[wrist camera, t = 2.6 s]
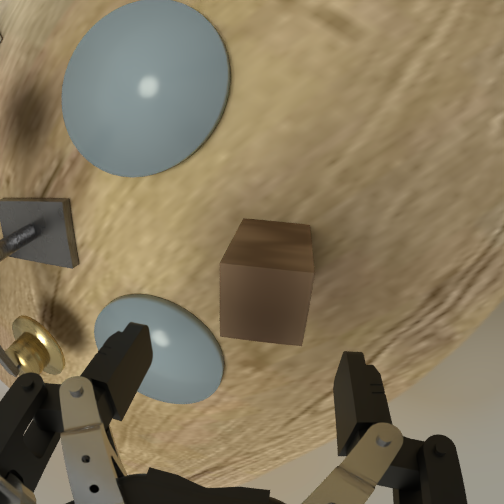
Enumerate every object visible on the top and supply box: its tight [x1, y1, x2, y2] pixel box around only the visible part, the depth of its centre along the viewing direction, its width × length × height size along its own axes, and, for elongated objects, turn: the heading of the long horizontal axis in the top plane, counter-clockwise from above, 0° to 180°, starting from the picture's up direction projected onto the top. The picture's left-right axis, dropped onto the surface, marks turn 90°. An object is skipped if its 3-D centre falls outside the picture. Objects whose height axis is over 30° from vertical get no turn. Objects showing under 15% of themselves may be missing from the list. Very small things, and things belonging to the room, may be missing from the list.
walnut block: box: [220, 219, 315, 346], centre depth 19 cm, size 4×4×7 cm
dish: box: [94, 294, 224, 404], centre depth 27 cm, size 13×13×1 cm
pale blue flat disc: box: [62, 0, 230, 177], centre depth 18 cm, size 13×13×1 cm
